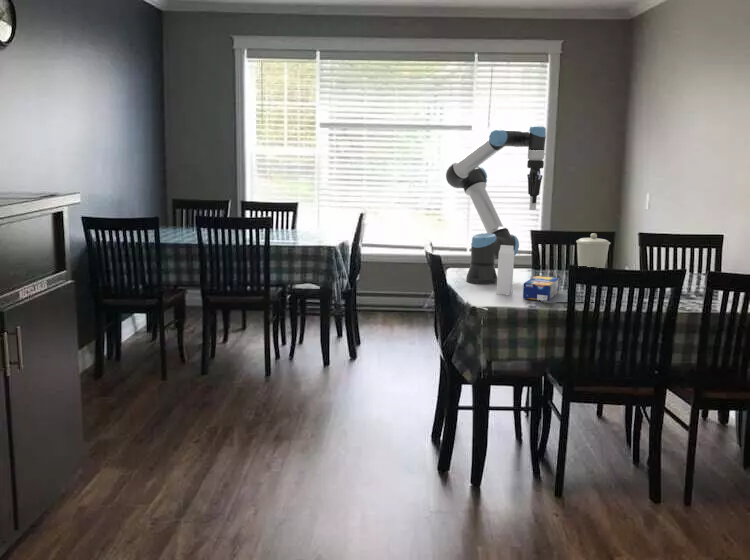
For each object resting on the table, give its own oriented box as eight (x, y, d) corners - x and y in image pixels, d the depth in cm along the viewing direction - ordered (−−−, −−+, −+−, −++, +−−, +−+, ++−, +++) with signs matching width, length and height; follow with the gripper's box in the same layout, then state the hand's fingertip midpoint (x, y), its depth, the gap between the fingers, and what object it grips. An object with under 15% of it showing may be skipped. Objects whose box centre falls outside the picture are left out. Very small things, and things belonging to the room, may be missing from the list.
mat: (543, 303, 316) (544, 302, 316) (523, 292, 339) (523, 291, 339) (600, 302, 320) (600, 301, 320) (576, 292, 343) (576, 291, 343)
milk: (498, 291, 339) (501, 244, 335) (512, 293, 337) (514, 245, 333) (496, 294, 333) (498, 245, 330) (509, 295, 331) (512, 246, 328)
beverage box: (558, 292, 337) (547, 301, 318) (534, 290, 342) (522, 298, 322) (559, 278, 336) (548, 285, 317) (535, 275, 341) (523, 283, 321)
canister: (615, 273, 402) (618, 234, 398) (590, 275, 394) (593, 235, 390) (591, 268, 418) (594, 231, 414) (566, 269, 409) (569, 231, 406)
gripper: (548, 160, 342) (545, 211, 346) (538, 159, 354) (534, 209, 359) (533, 159, 340) (530, 211, 345) (523, 159, 353) (520, 208, 357)
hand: (532, 209), depth 352 cm, fingers closed
